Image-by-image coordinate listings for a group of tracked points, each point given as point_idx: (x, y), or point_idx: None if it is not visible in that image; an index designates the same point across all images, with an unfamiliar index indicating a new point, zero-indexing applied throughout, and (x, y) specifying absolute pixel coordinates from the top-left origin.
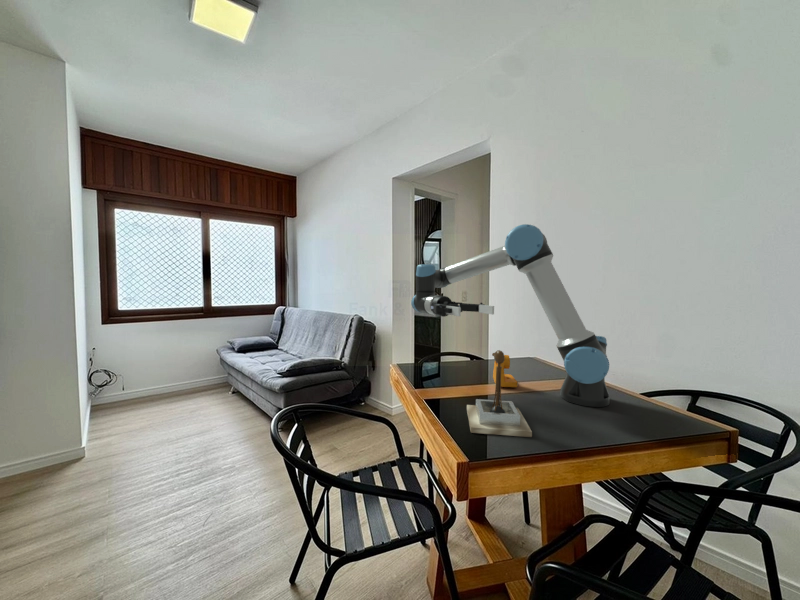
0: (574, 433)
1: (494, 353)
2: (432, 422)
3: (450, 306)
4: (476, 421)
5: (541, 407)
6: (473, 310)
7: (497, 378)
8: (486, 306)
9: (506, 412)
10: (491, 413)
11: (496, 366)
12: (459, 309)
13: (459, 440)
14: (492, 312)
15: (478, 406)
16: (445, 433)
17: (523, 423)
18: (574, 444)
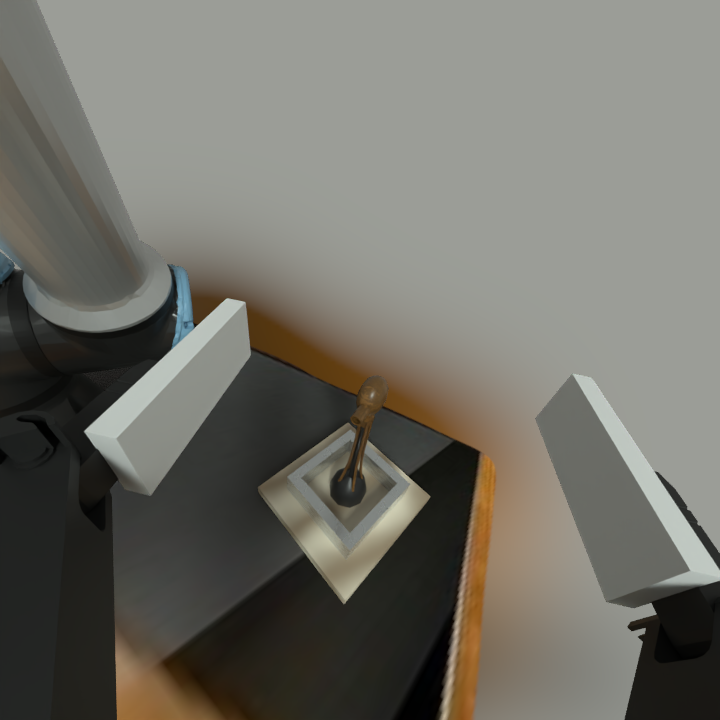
0: (280, 395)
1: (362, 411)
2: (481, 601)
3: (658, 479)
4: (402, 506)
5: (183, 472)
6: (109, 578)
7: (368, 434)
8: (209, 350)
9: None
10: (388, 468)
11: (368, 422)
12: (573, 387)
13: (464, 496)
14: (247, 343)
15: (384, 510)
16: (476, 533)
17: (330, 443)
18: (317, 387)
